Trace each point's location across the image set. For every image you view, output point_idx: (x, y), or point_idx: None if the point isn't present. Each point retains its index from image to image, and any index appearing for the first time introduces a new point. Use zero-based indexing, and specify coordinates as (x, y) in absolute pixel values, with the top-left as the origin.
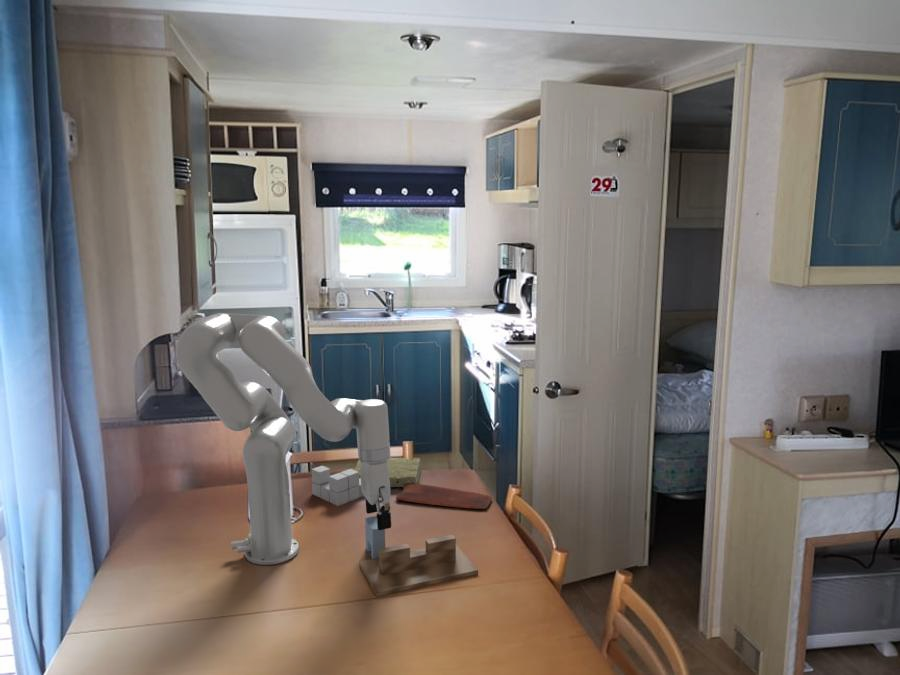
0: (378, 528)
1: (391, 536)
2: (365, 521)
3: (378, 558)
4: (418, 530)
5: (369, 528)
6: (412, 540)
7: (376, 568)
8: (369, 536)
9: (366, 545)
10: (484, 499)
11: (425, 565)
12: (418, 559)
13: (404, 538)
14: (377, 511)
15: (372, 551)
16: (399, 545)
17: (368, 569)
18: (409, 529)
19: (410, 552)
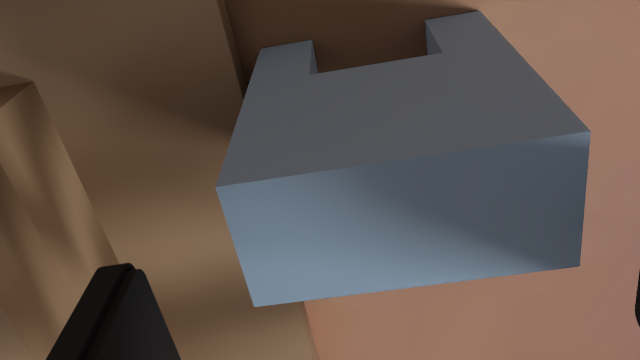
0: (93, 280)
1: (585, 206)
2: (555, 115)
3: (231, 96)
4: (584, 348)
5: (360, 140)
6: (475, 306)
7: (75, 66)
8: (364, 95)
9: (465, 24)
10: None
11: None
12: None
13: None
14: (637, 301)
15: (270, 71)
16: (9, 337)
17: (59, 2)
18: (623, 311)
19: None
